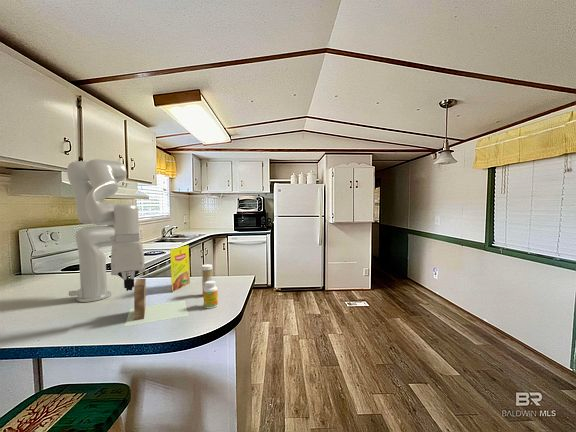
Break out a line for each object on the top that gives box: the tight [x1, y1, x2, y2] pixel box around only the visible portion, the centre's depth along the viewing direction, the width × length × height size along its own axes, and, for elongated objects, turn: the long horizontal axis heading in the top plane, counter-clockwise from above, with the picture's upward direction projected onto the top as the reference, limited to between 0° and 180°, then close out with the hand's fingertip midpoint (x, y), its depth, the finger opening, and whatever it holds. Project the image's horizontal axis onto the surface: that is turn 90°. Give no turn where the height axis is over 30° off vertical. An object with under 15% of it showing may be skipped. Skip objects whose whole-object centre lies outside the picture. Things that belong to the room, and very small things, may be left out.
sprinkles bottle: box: [201, 263, 213, 297], centre depth 123 cm, size 5×5×13 cm
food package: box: [169, 244, 191, 293], centre depth 135 cm, size 15×1×20 cm, turn 168°
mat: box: [124, 299, 189, 327], centre depth 103 cm, size 20×18×1 cm
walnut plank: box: [133, 278, 147, 320], centre depth 101 cm, size 3×10×12 cm, turn 25°
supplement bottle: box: [203, 280, 219, 309], centre depth 109 cm, size 5×5×10 cm
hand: (129, 289), depth 99 cm, fingers closed
